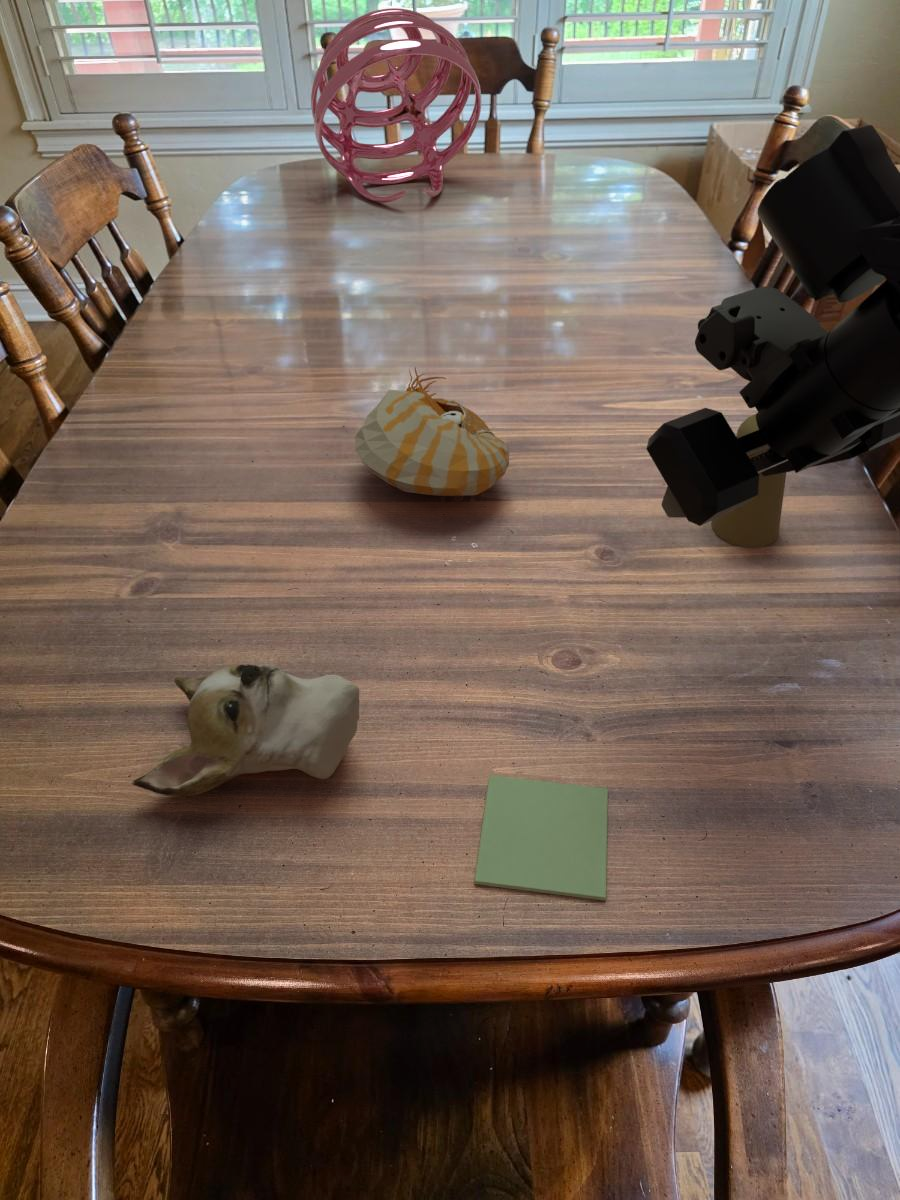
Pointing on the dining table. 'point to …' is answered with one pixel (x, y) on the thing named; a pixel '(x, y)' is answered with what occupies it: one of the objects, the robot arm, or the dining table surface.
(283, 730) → the ceramic sculpture
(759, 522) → the olive pawn
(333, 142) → the spiral basket
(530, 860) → the coaster
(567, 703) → the dining table surface
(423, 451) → the nautilus
